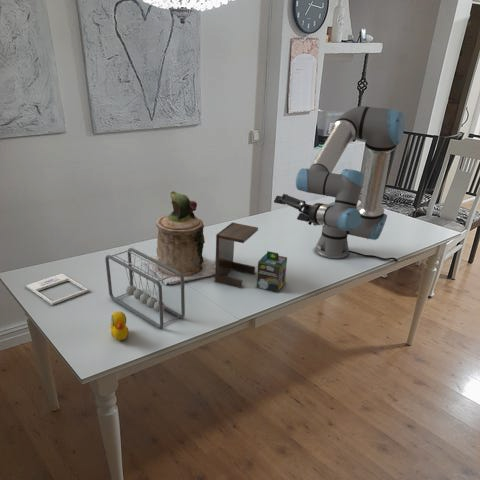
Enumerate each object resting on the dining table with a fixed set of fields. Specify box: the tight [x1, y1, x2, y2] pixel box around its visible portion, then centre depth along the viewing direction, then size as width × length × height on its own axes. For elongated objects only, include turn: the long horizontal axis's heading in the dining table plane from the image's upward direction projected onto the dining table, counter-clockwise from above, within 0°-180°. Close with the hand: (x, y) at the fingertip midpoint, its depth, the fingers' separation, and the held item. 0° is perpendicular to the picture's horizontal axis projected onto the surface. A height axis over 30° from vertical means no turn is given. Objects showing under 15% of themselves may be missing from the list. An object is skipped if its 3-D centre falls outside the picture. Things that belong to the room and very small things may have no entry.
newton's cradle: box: [104, 247, 186, 329], centre depth 161 cm, size 30×10×18 cm, turn 48°
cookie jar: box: [143, 190, 216, 286], centre depth 186 cm, size 25×25×32 cm
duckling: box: [110, 311, 130, 341], centre depth 147 cm, size 11×5×10 cm, turn 20°
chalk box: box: [256, 250, 288, 293], centre depth 182 cm, size 9×9×15 cm
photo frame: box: [26, 273, 89, 306], centre depth 174 cm, size 15×1×18 cm
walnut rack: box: [214, 222, 259, 289], centre depth 185 cm, size 11×15×20 cm
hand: (287, 207), depth 182 cm, fingers open, 13 cm apart
